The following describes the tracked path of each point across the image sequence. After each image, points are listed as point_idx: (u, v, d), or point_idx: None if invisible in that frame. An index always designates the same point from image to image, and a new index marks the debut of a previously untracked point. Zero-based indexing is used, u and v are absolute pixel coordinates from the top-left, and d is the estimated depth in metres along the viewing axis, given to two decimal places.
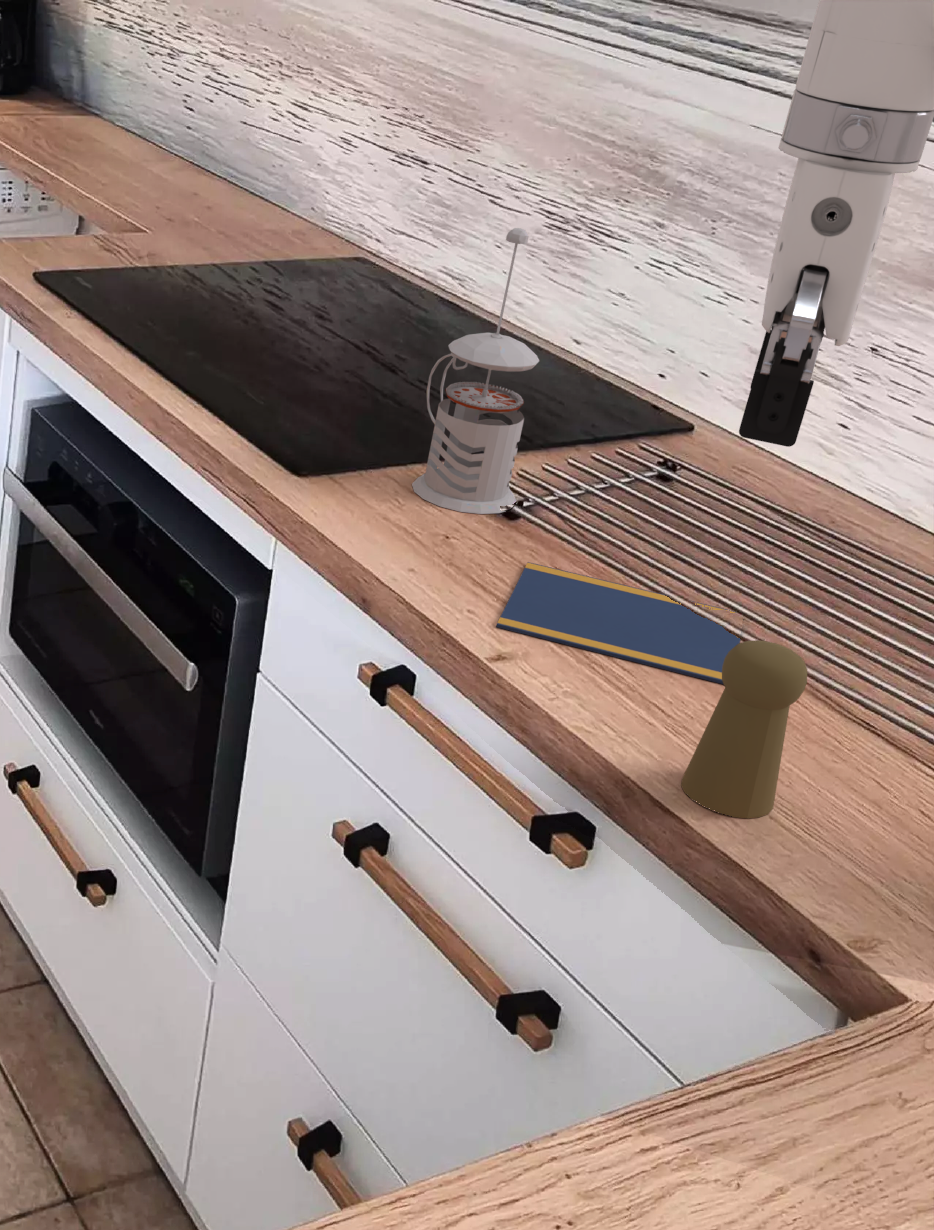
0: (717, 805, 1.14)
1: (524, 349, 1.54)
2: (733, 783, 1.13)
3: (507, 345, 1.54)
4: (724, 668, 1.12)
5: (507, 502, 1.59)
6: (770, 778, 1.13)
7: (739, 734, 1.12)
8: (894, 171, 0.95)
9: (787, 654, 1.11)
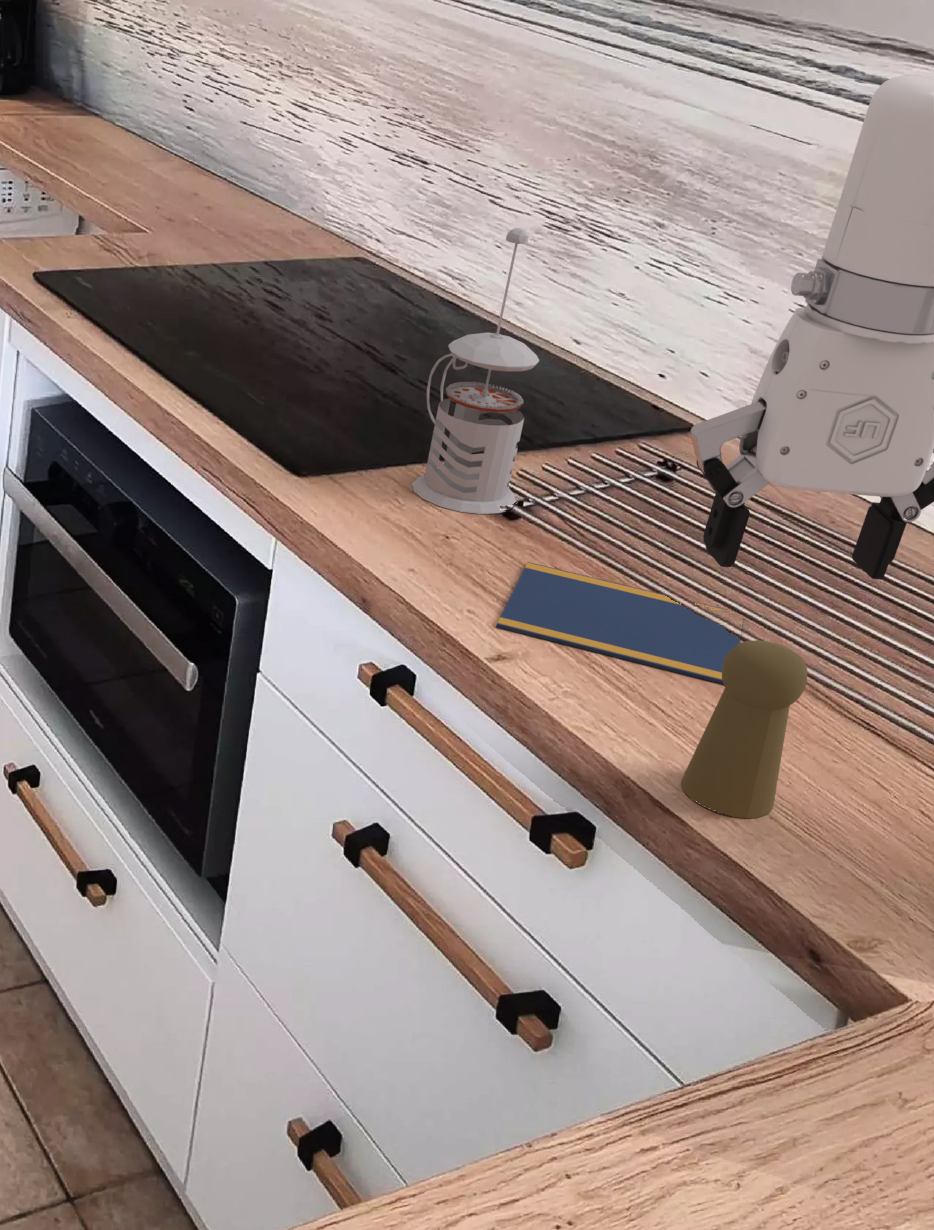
0: (717, 805, 1.14)
1: (524, 349, 1.54)
2: (733, 783, 1.13)
3: (507, 345, 1.54)
4: (724, 668, 1.12)
5: (507, 502, 1.59)
6: (770, 778, 1.13)
7: (739, 734, 1.12)
8: (845, 330, 0.99)
9: (787, 654, 1.11)
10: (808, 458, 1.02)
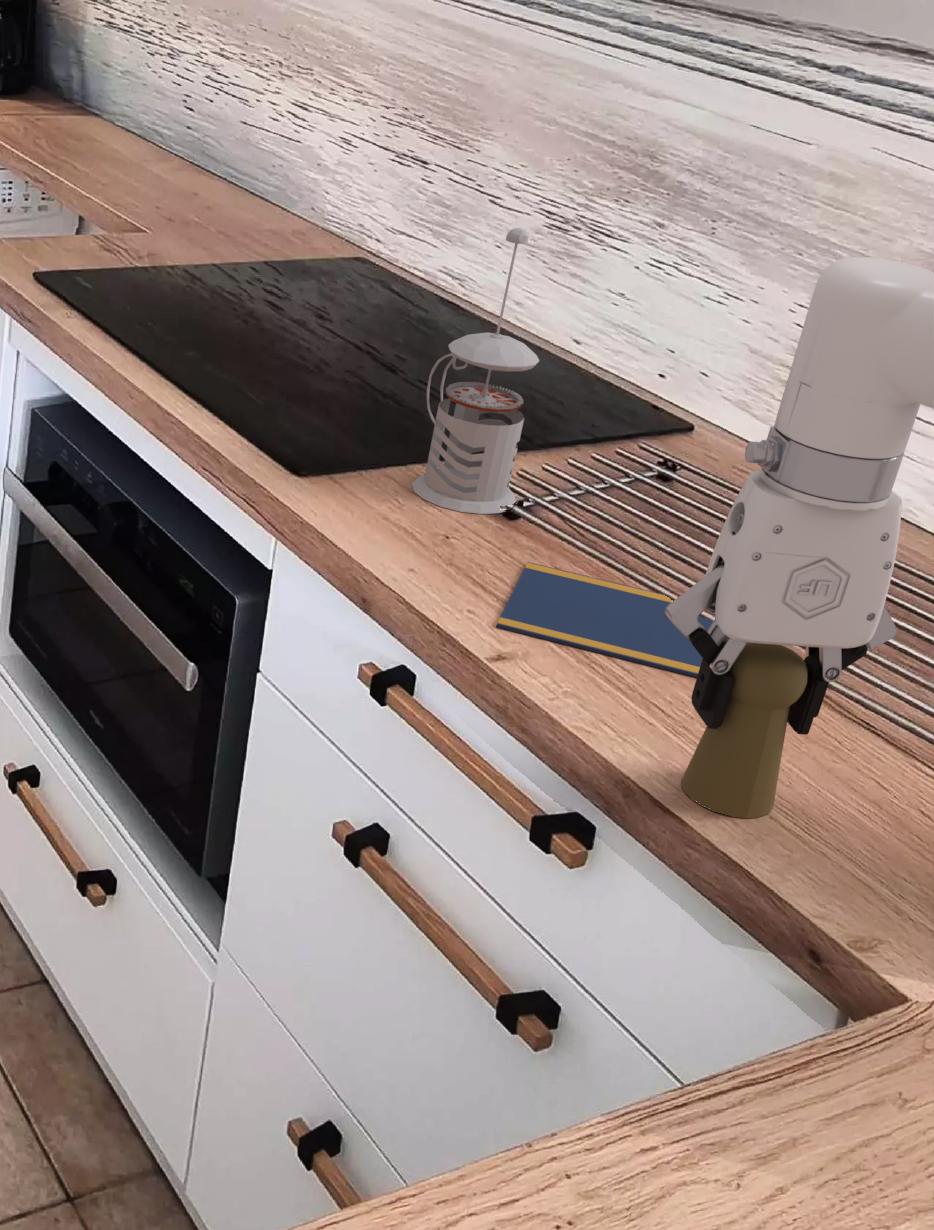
0: (717, 805, 1.14)
1: (524, 349, 1.54)
2: (733, 783, 1.13)
3: (507, 345, 1.54)
4: None
5: (507, 502, 1.59)
6: (770, 778, 1.13)
7: (739, 734, 1.12)
8: (796, 498, 1.04)
9: (787, 654, 1.11)
10: (764, 615, 1.07)
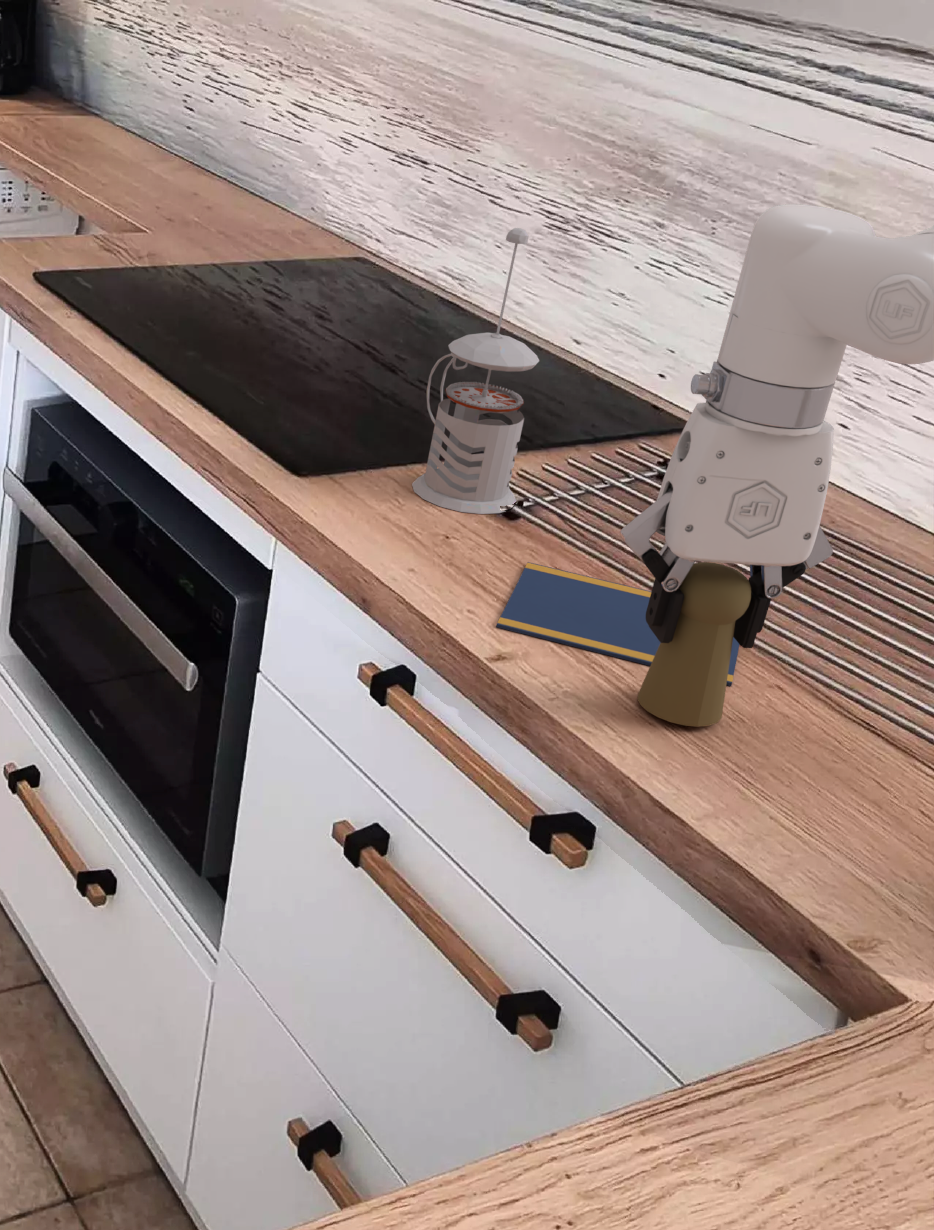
0: (669, 714, 1.24)
1: (524, 349, 1.54)
2: (684, 693, 1.23)
3: (507, 345, 1.54)
4: None
5: (507, 502, 1.59)
6: (718, 689, 1.23)
7: (689, 648, 1.22)
8: (737, 425, 1.13)
9: (732, 573, 1.21)
10: (709, 534, 1.17)
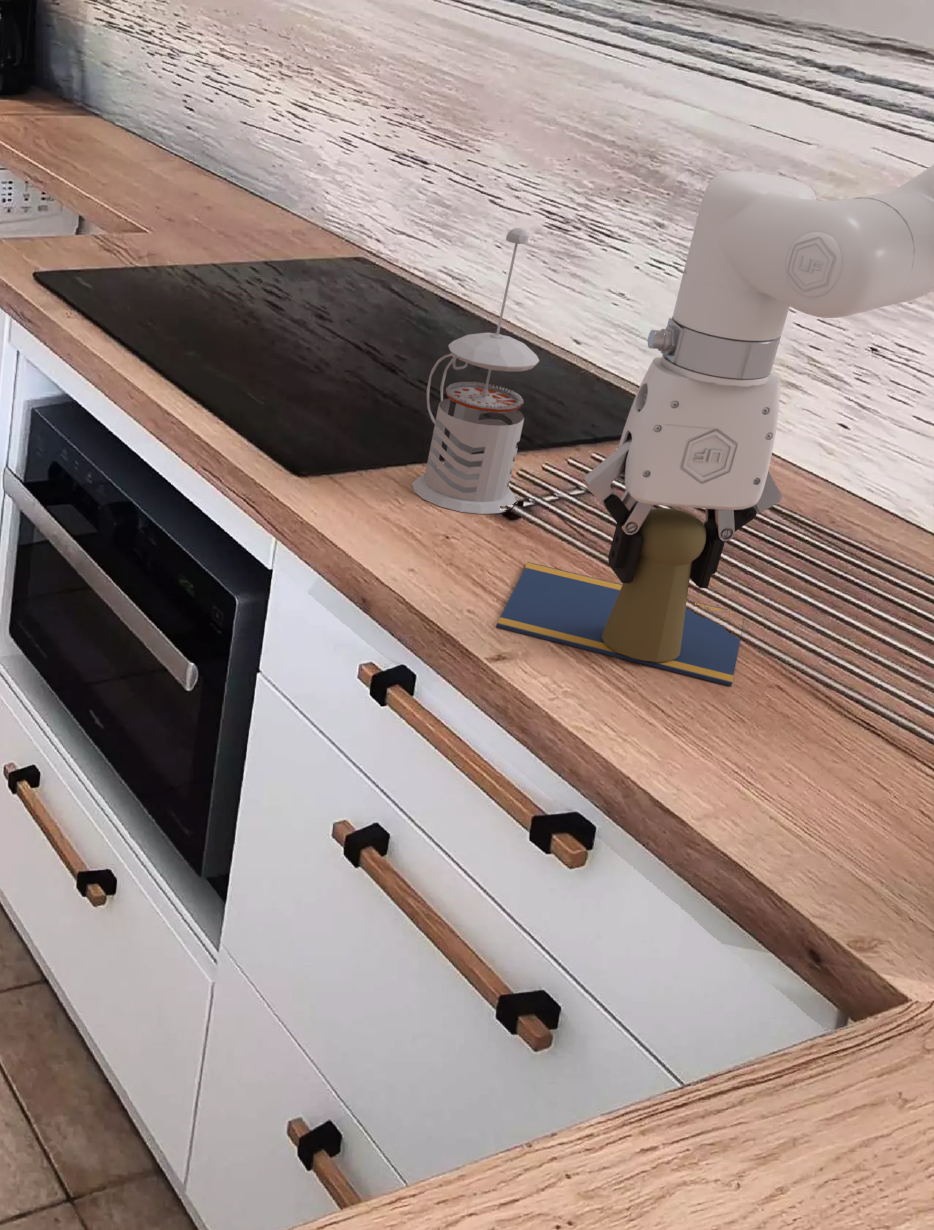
0: (630, 650, 1.32)
1: (524, 349, 1.54)
2: (644, 630, 1.32)
3: (507, 345, 1.54)
4: None
5: (507, 502, 1.59)
6: (676, 627, 1.32)
7: (649, 587, 1.31)
8: (689, 376, 1.22)
9: (688, 518, 1.30)
10: (666, 479, 1.26)
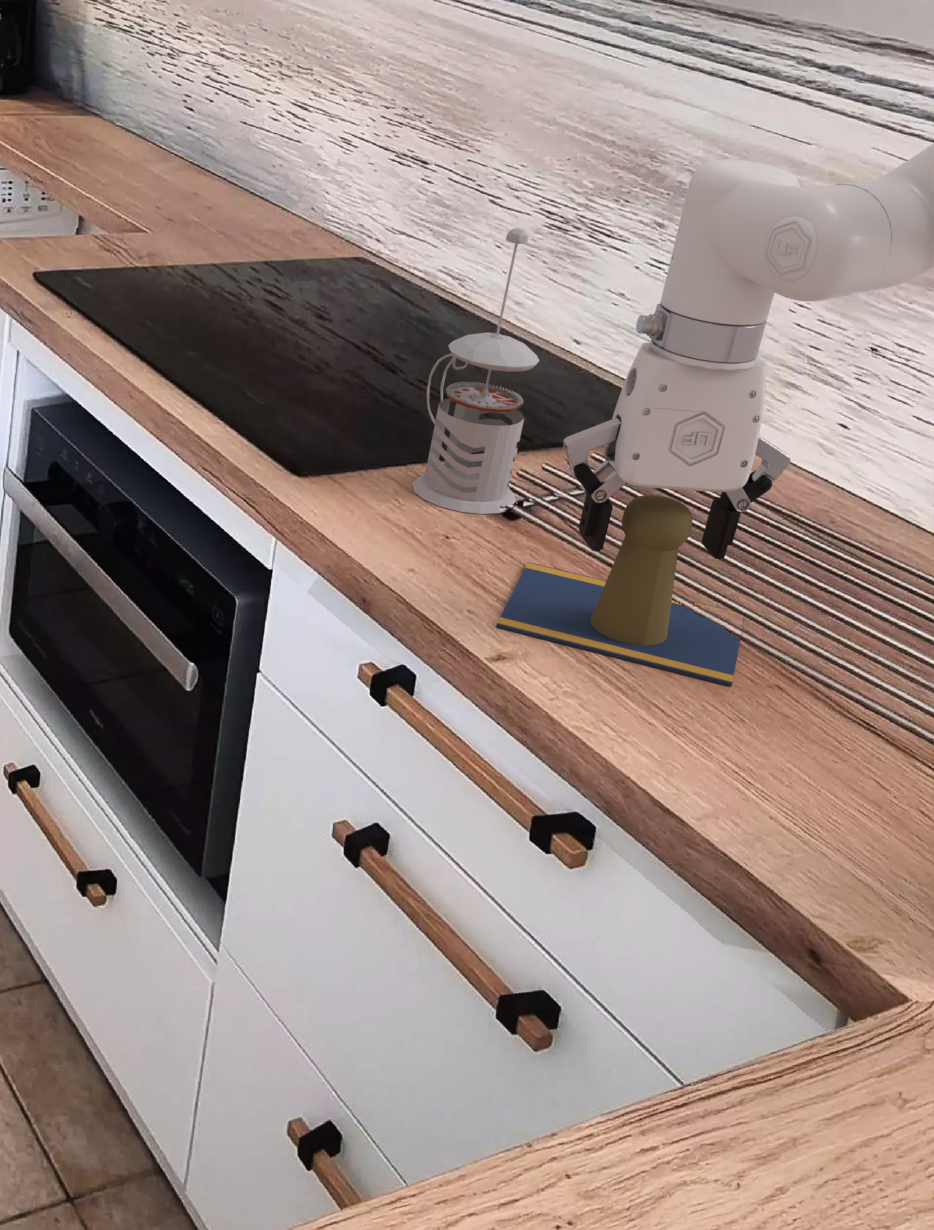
0: (618, 634, 1.35)
1: (524, 349, 1.54)
2: (631, 615, 1.34)
3: (507, 345, 1.54)
4: (623, 517, 1.34)
5: (507, 502, 1.59)
6: (663, 611, 1.35)
7: (636, 573, 1.33)
8: (677, 360, 1.25)
9: (675, 504, 1.32)
10: (655, 462, 1.28)
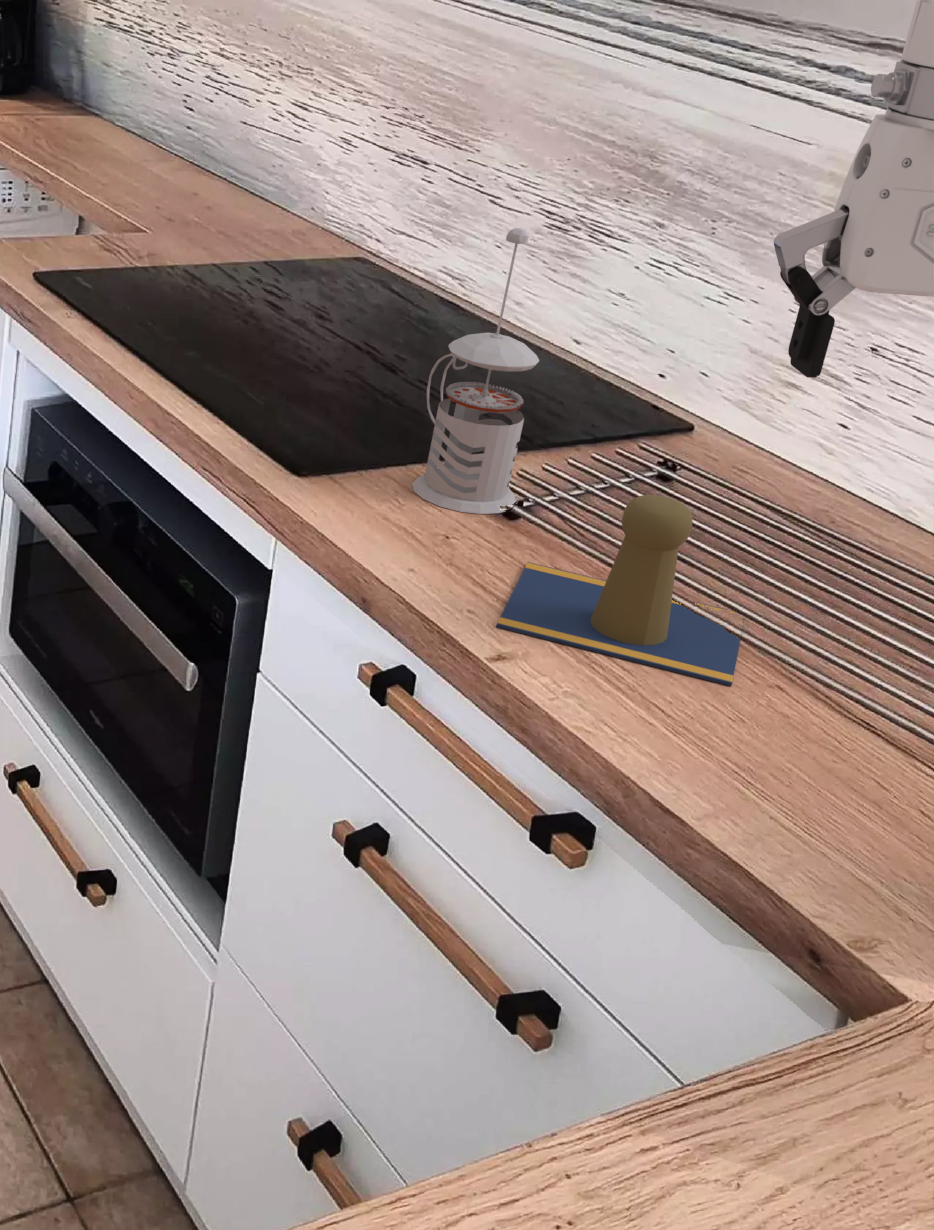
0: (618, 634, 1.35)
1: (524, 349, 1.54)
2: (631, 615, 1.34)
3: (507, 345, 1.54)
4: (623, 517, 1.34)
5: (507, 502, 1.59)
6: (663, 611, 1.35)
7: (636, 572, 1.33)
8: (926, 127, 1.01)
9: (675, 504, 1.32)
10: (892, 259, 1.04)
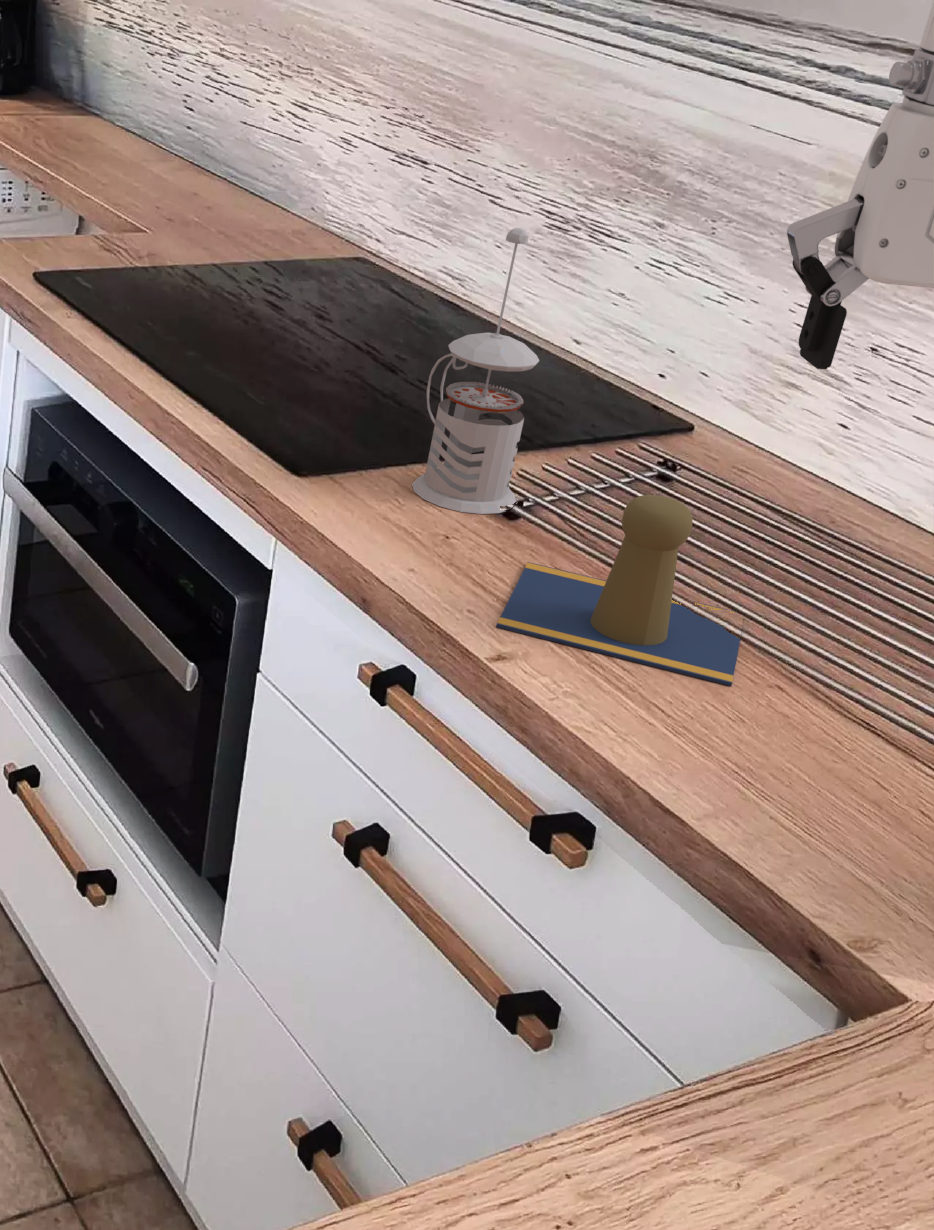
0: (618, 634, 1.35)
1: (524, 349, 1.54)
2: (631, 615, 1.34)
3: (507, 345, 1.54)
4: (623, 517, 1.34)
5: (507, 502, 1.59)
6: (663, 611, 1.35)
7: (636, 572, 1.33)
8: None
9: (675, 504, 1.32)
10: (907, 250, 1.03)
